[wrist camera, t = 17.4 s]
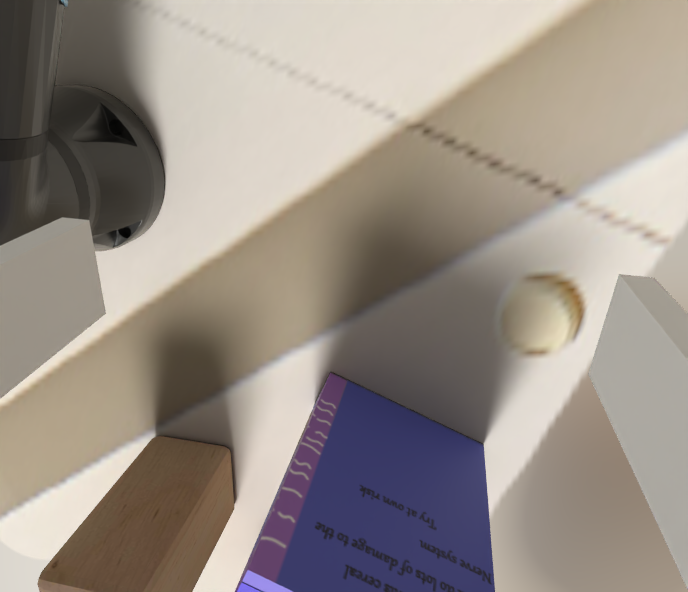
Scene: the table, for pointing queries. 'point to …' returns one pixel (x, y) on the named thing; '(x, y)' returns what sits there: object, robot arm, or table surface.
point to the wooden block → (150, 524)
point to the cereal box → (375, 504)
